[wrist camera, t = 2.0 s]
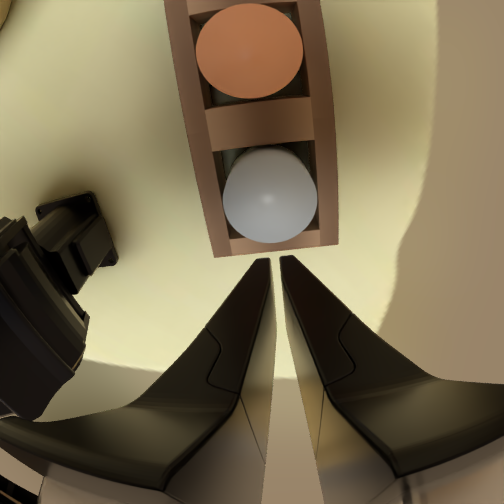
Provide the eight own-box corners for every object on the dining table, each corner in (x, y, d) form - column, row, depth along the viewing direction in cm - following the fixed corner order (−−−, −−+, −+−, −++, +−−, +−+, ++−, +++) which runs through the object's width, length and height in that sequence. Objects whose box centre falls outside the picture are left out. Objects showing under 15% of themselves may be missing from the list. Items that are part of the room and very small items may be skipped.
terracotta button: (213, 101, 16) (204, 105, 13) (200, 23, 13) (189, 13, 11) (300, 91, 15) (308, 93, 13) (288, 12, 13) (295, -1, 10)
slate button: (234, 223, 20) (231, 247, 17) (221, 150, 17) (214, 163, 15) (310, 215, 20) (318, 238, 17) (305, 140, 17) (314, 151, 14)
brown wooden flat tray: (219, 235, 22) (214, 257, 20) (165, -74, 10) (153, -92, 7) (328, 223, 21) (338, 244, 19) (287, -91, 9) (291, -112, 6)
